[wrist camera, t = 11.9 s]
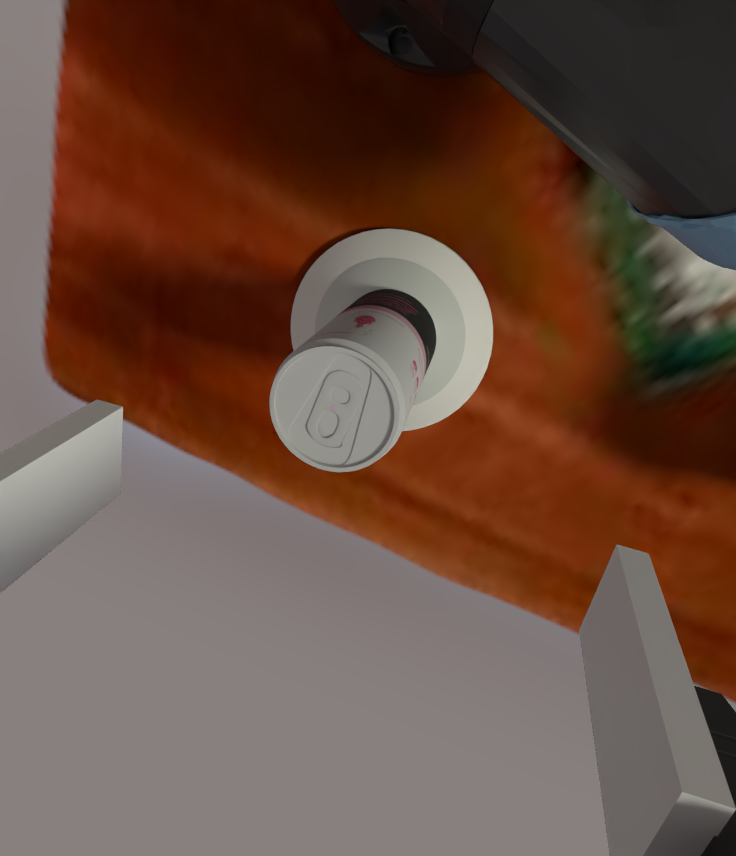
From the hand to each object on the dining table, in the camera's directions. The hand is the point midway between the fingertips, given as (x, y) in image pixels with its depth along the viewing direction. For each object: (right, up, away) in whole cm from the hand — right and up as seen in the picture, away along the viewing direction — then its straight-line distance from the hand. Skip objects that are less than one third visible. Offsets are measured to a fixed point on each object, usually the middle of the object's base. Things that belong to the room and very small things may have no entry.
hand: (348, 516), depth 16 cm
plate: (+2, +9, +27) cm, 28 cm away
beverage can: (+2, +9, +27) cm, 28 cm away
